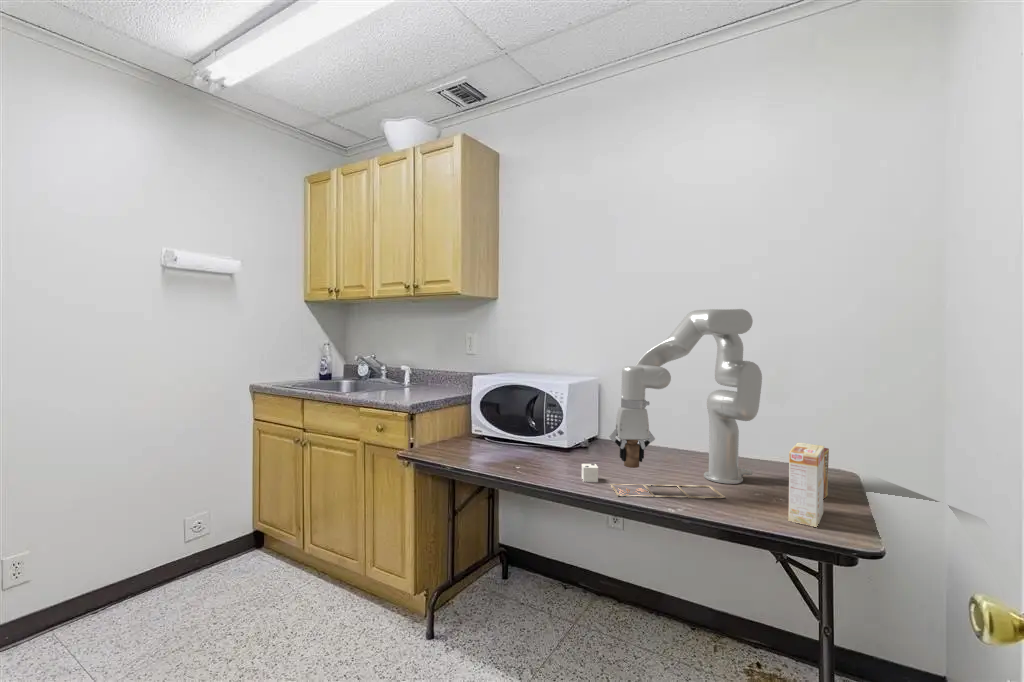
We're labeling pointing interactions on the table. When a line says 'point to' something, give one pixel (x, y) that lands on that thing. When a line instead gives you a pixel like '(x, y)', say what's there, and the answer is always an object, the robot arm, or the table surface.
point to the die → (590, 472)
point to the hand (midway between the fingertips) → (631, 459)
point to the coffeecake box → (806, 484)
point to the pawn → (632, 454)
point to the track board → (665, 496)
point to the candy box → (825, 471)
